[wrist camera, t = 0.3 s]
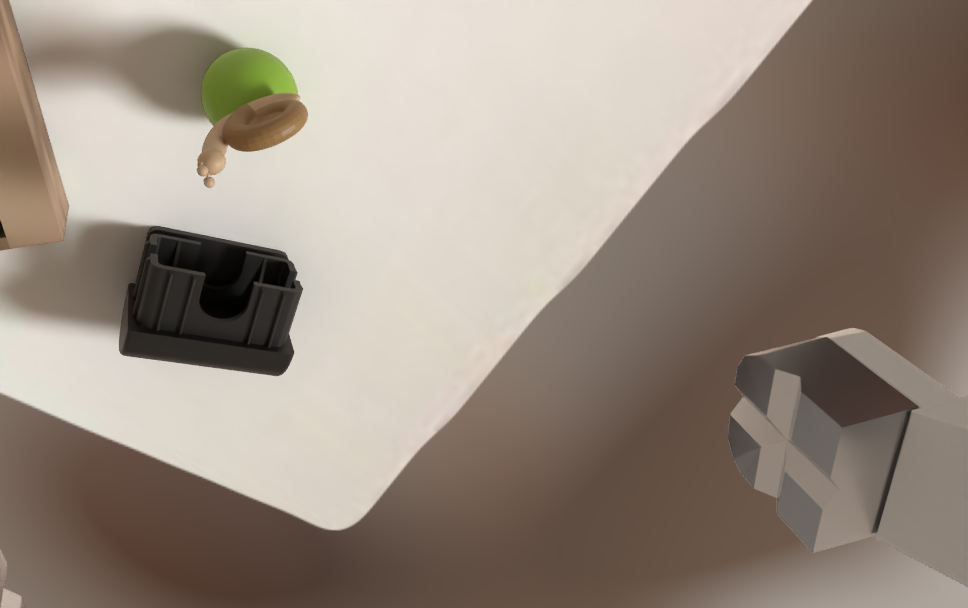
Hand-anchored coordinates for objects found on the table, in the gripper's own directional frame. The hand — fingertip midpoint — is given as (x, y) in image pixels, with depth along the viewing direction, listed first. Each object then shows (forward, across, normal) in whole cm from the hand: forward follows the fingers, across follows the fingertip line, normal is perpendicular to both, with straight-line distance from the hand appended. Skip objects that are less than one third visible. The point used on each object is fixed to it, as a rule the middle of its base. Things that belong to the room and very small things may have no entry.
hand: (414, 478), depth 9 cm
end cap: (+47, +3, +21) cm, 52 cm away
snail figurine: (+47, -1, +8) cm, 48 cm away
